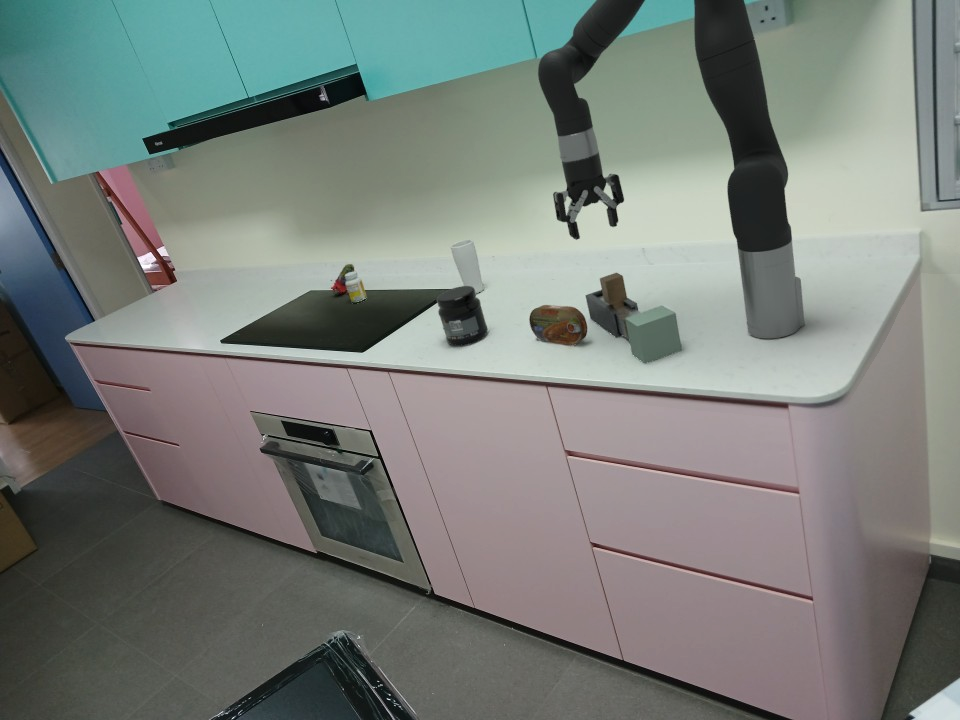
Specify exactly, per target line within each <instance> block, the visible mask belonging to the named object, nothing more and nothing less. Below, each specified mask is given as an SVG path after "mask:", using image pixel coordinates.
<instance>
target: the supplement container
mask: <svg viewBox="0 0 960 720" xmlns="http://www.w3.org/2000/svg"><path fill="white" fill-rule="evenodd" d="M436 302H437V305H438V307H439V309H438V311H437V312H438V316H439V318H440V321H441V324H442V326H443V327H442V328H443V330H444V334H445V336H446V341H447V342H448V343H449V344H450V345H452V346H457V347H460V346H461V347H462V346H468V345H472V344H474V343H477V342H479V341H480V340H481V339H483V338H484V337H485V336H486V335H487V334H488V329H489V328H488V325H487V322H486V319H485V315H484V313H483V308H482V306H481V305H482V304H481V300H480V298H479V297H477V294H476V293H475V289H474V288H473V287H471V286H464V285H462V286H456V287H452V288H450V289H447V290H446V291H443V292H442V293H440V294H439V295H438V296H437V297H436Z"/></svg>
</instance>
